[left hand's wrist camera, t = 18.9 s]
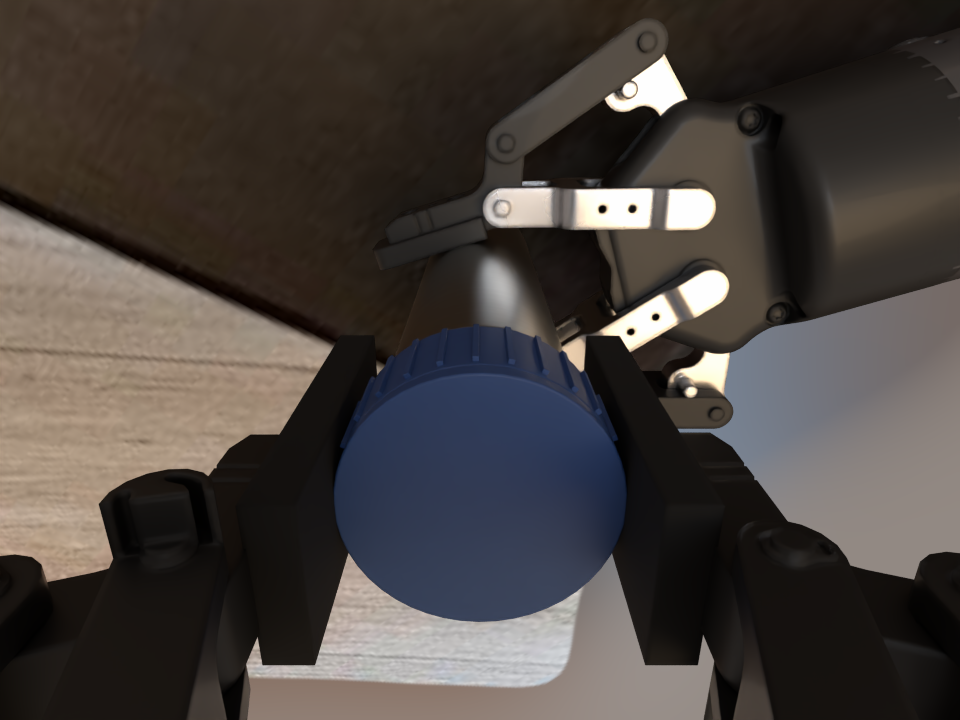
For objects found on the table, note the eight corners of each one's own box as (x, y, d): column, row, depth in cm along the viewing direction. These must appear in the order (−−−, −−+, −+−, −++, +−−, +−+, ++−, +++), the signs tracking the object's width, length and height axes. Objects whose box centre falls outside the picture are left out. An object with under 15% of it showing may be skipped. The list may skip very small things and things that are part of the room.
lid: (638, 501, 13) (668, 576, 11) (415, 573, 13) (403, 658, 11) (558, 282, 11) (576, 321, 9) (309, 377, 12) (271, 434, 10)
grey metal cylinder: (429, 211, 27) (349, 368, 10) (527, 207, 27) (602, 360, 10) (435, 305, 28) (374, 572, 12) (528, 302, 28) (594, 565, 12)
